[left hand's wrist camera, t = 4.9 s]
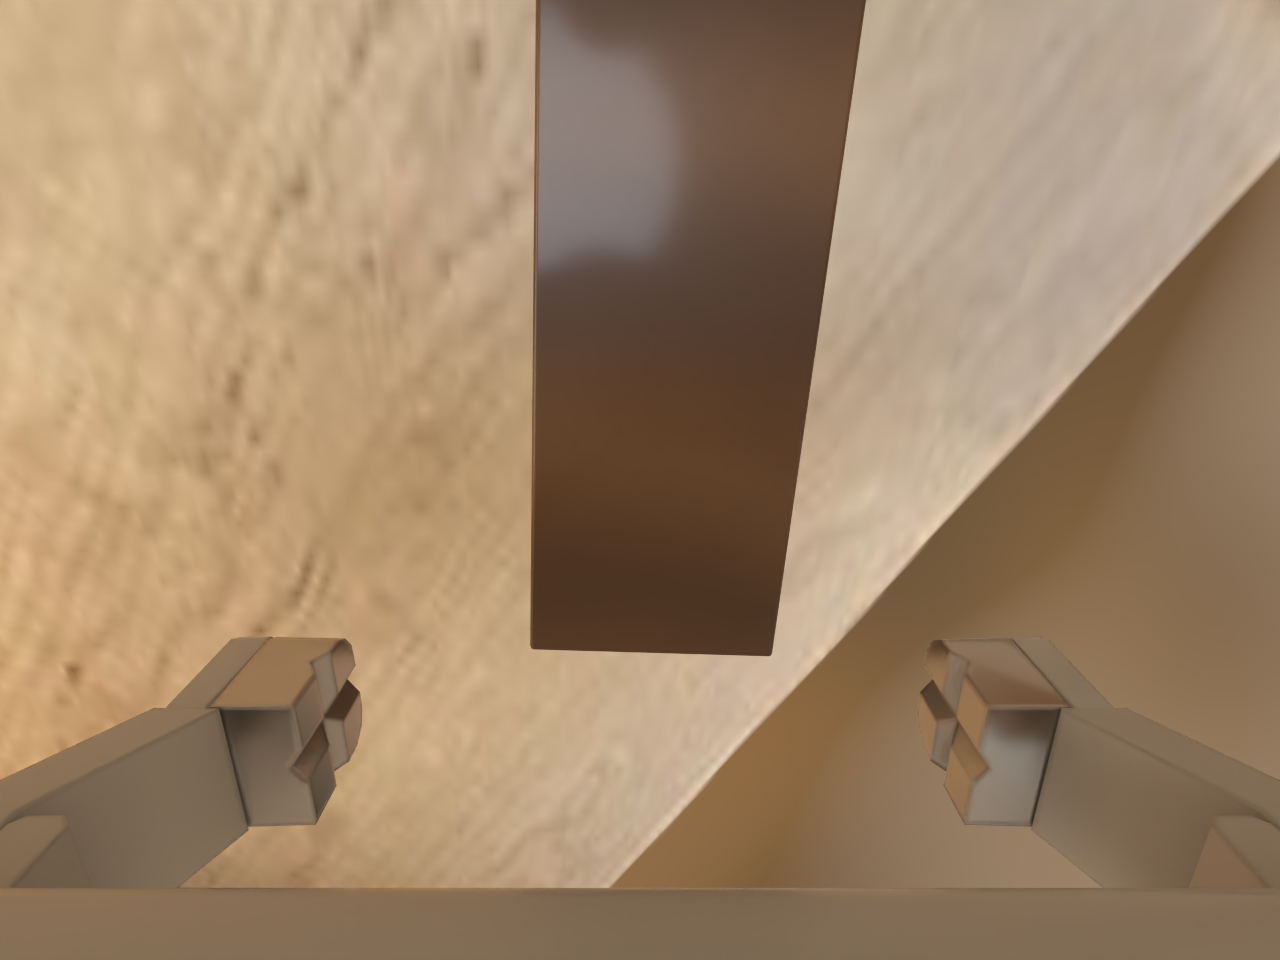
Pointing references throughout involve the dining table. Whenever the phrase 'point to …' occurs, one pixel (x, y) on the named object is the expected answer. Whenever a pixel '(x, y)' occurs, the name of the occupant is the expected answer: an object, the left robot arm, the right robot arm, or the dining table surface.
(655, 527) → the bar
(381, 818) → the dining table surface
